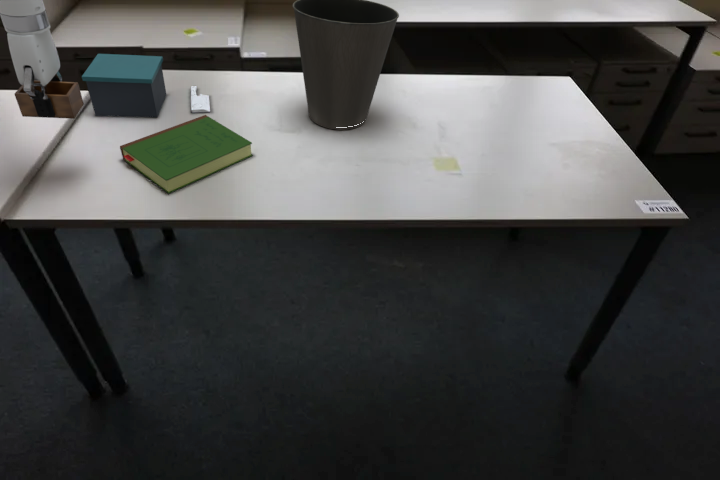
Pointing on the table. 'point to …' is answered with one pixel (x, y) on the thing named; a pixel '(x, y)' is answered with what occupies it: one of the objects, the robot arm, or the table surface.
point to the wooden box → (53, 99)
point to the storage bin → (126, 85)
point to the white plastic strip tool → (199, 101)
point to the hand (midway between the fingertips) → (52, 107)
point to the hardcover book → (186, 152)
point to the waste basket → (342, 57)
